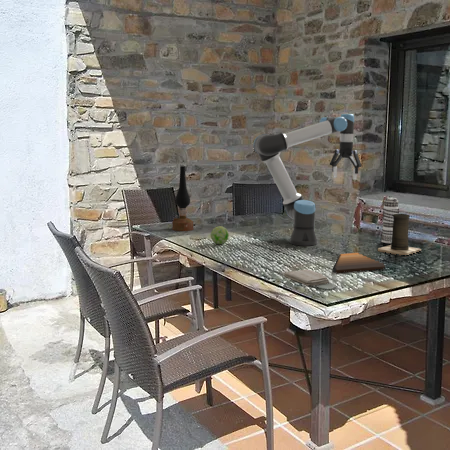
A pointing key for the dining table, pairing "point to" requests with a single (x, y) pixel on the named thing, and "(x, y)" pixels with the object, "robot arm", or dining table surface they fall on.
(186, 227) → the oil lamp
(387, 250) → the oak board
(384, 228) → the decorative candle
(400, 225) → the container
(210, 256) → the dining table surface
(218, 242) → the decorative ball
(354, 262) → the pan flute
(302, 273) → the washcloth
